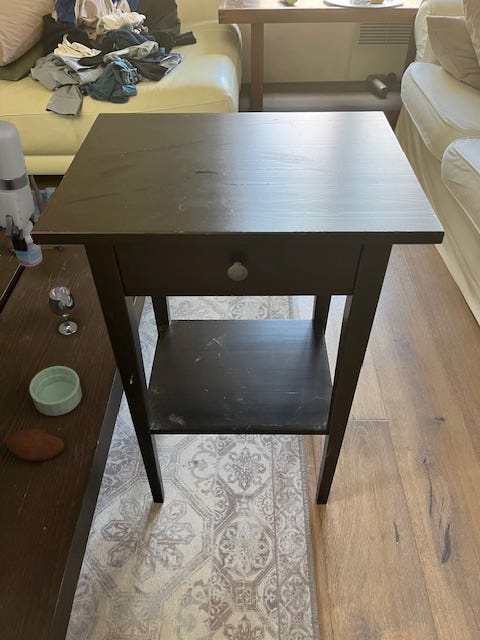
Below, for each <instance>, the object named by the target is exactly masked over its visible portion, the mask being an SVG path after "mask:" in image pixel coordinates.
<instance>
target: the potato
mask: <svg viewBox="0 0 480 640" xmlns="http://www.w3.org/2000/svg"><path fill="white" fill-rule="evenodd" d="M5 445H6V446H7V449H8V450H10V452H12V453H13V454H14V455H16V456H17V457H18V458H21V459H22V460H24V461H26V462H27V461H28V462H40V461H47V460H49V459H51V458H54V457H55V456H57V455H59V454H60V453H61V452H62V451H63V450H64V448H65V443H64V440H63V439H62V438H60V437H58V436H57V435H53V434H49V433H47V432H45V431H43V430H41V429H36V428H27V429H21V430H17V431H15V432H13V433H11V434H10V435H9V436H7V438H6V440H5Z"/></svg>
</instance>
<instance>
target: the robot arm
mask: <svg viewBox="0 0 480 640" xmlns="http://www.w3.org/2000/svg"><path fill="white" fill-rule="evenodd" d="M31 190H32V189H31V186H30V179H29V173H28V170H27V164H26V161H25V154H24V151H23V146H22V141H21V137H20V132H19V130H18V128H17V126H16V125H15V124H13V122H10V121H7V120H2V119H1V120H0V222H1V226H0V227H1V228H3V229H5V234H4V236H5V237H6V238H9V240H10V239H12V243H13V247H14V250H16V251H24V252H27V251H28V248H27V244H26V240H25V238H24V237H23V228H24V226H25V225H26V223H27V222H28V220H29V221H31V222H32V224H33V227H34V225H35V221H34V220H35V217H34V215H33V211H34V200H33V196H32V192H31ZM14 224H15V225H16V226H14ZM14 229H17V230H19V234H17V233H14Z"/></svg>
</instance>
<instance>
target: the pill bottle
mask: <svg viewBox="0 0 480 640" xmlns="http://www.w3.org/2000/svg"><path fill="white" fill-rule="evenodd" d="M14 226H16V225H15V224H14ZM32 228H33V224H32V222H31V221H29V220H28V222H27V223H26V225H25V226H24V228H23V237H24V238H25V240H26V244H27V248H28V251H27V252H24V251H16V250H15V252H16V254H15V256H16V260H17V262H18V264H19V265H20V266H23V267H27V268H32V267H35V266H38V265H39V264H40V263H42V261H43V253H42V248H41V244H40V245H36V244H34V243H33V240H32V238H31V236H30V232H31V230H32ZM14 233H17V234H19V230H17V229H14Z"/></svg>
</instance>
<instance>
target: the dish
mask: <svg viewBox="0 0 480 640" xmlns="http://www.w3.org/2000/svg"><path fill="white" fill-rule="evenodd" d="M29 394H30V396H31V399H32V402H33V404H34V407H35V409H36V410H37V411H38V412H39V413H41V414H44V415H46V416H52V417H57V416H62V415H65V414H67V413H69V412H71V411H72V410H74V409H76V407H77V406H78V405H79V404H80V402H81V400H82V397H83V389H82V385H81V380H80V377H79V375H78V373H77V372H76V371H75V370H73V369H72V368H71V367H67V366H65V365H54V366H49V367H47V368H44V369H42V370H40V371H39V372H38V373H37V374H35V376H34V377H33V378H32V379H31V381H30V383H29Z"/></svg>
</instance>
